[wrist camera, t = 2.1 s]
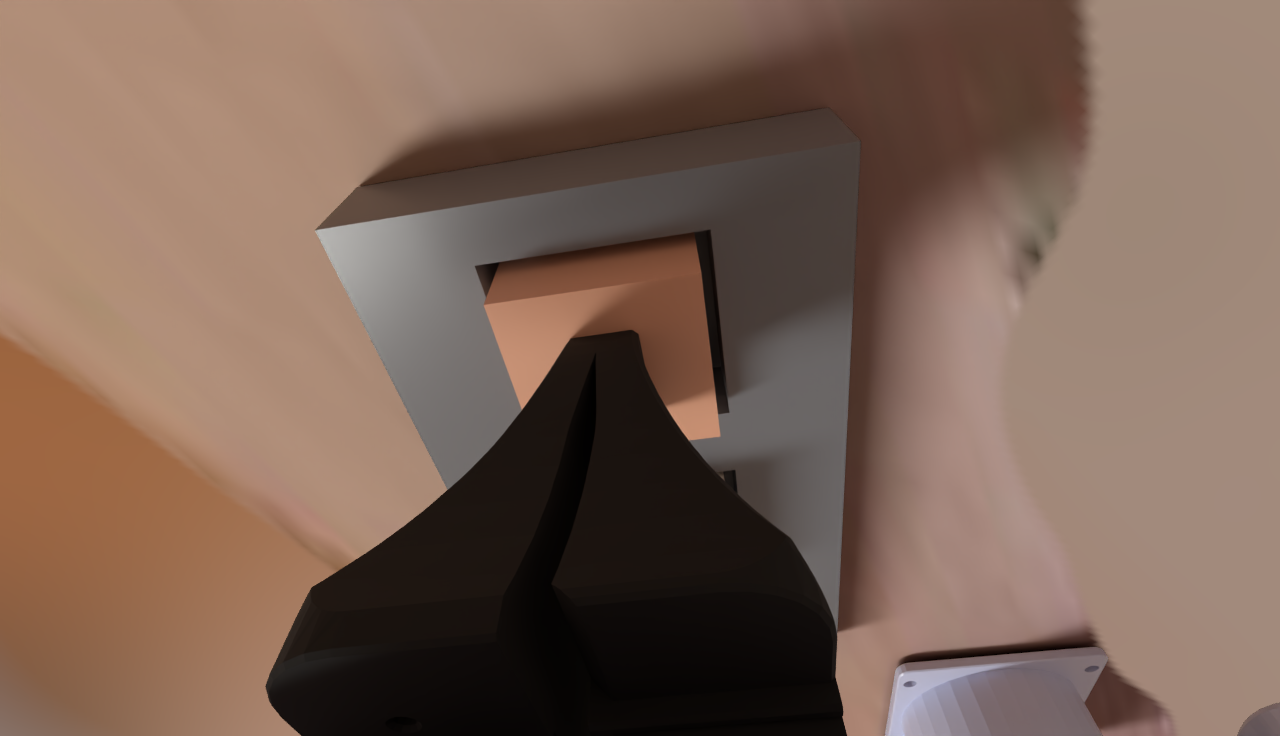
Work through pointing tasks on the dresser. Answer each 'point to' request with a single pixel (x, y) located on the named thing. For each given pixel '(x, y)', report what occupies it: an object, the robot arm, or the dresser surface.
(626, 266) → the terracotta key
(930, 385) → the dresser surface
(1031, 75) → the dresser surface
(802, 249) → the grey flat frame
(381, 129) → the dresser surface
